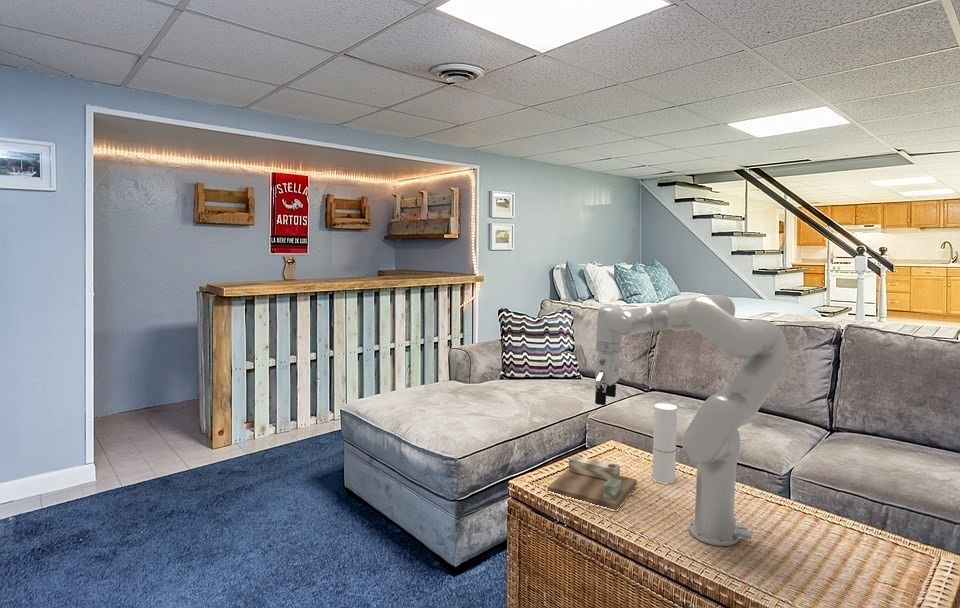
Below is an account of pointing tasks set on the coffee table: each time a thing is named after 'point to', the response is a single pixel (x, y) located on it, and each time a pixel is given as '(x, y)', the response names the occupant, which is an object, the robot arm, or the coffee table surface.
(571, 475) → the brown board with blocks
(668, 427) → the cylindrical container
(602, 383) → the robot arm
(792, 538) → the coffee table surface
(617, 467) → the folding leg
